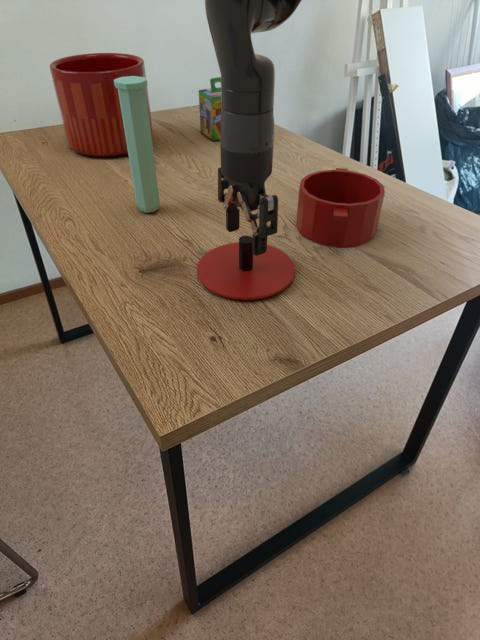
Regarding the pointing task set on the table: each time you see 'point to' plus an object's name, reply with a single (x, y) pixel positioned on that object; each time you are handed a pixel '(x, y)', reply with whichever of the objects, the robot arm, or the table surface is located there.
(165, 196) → the table surface
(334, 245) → the pot
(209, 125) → the chalk box
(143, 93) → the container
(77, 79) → the planter
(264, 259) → the pot lid
